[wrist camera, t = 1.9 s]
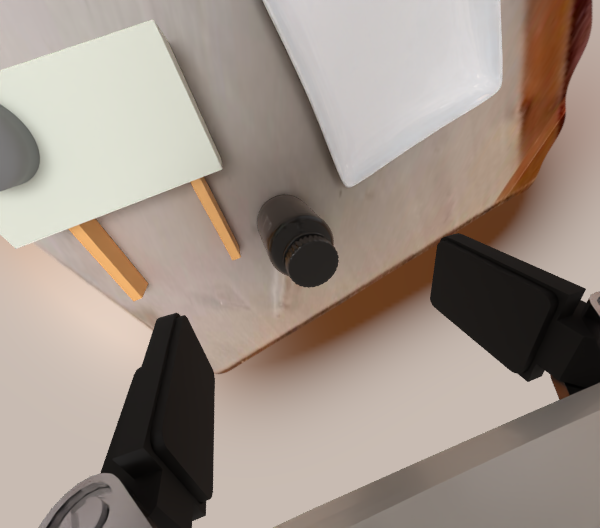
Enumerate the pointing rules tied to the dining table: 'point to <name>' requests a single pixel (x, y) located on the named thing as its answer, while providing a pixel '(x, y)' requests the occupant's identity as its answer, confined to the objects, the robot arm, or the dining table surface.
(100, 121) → the block with grey puck
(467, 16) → the salad plate
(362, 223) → the dining table surface
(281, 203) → the supplement bottle
